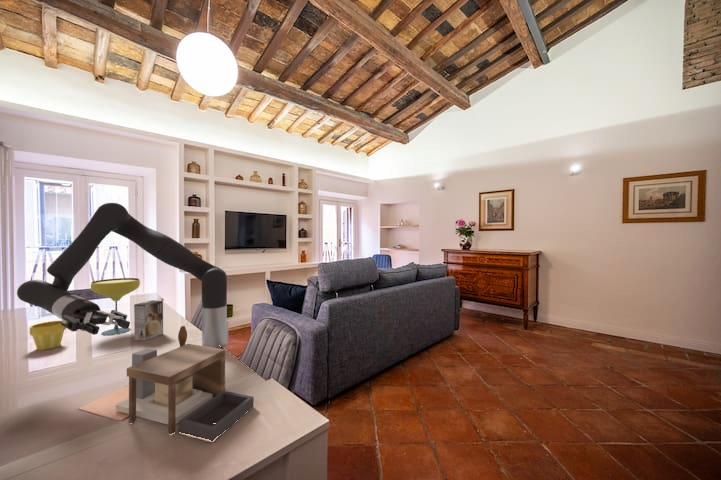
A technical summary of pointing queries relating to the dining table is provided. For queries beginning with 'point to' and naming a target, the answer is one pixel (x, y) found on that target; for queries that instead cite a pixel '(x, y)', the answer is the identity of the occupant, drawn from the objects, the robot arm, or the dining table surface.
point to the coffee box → (148, 319)
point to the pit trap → (216, 415)
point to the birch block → (181, 391)
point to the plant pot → (47, 334)
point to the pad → (109, 405)
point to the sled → (147, 396)
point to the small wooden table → (180, 374)
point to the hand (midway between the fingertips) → (113, 328)
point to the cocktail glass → (115, 294)
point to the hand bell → (182, 336)
